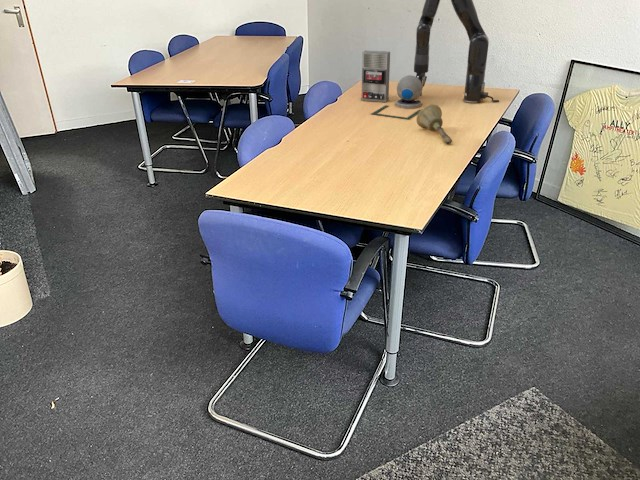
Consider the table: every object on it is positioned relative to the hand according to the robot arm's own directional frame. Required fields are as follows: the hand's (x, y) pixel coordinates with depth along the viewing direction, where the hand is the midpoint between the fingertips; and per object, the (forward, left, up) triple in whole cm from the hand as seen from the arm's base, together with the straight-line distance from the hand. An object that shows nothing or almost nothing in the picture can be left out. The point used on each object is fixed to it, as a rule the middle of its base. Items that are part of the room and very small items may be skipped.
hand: (419, 95), depth 288 cm
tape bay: (0, +29, -2) cm, 29 cm away
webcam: (0, +15, -2) cm, 15 cm away
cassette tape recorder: (+20, +14, -2) cm, 24 cm away
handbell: (-32, +55, -2) cm, 63 cm away
